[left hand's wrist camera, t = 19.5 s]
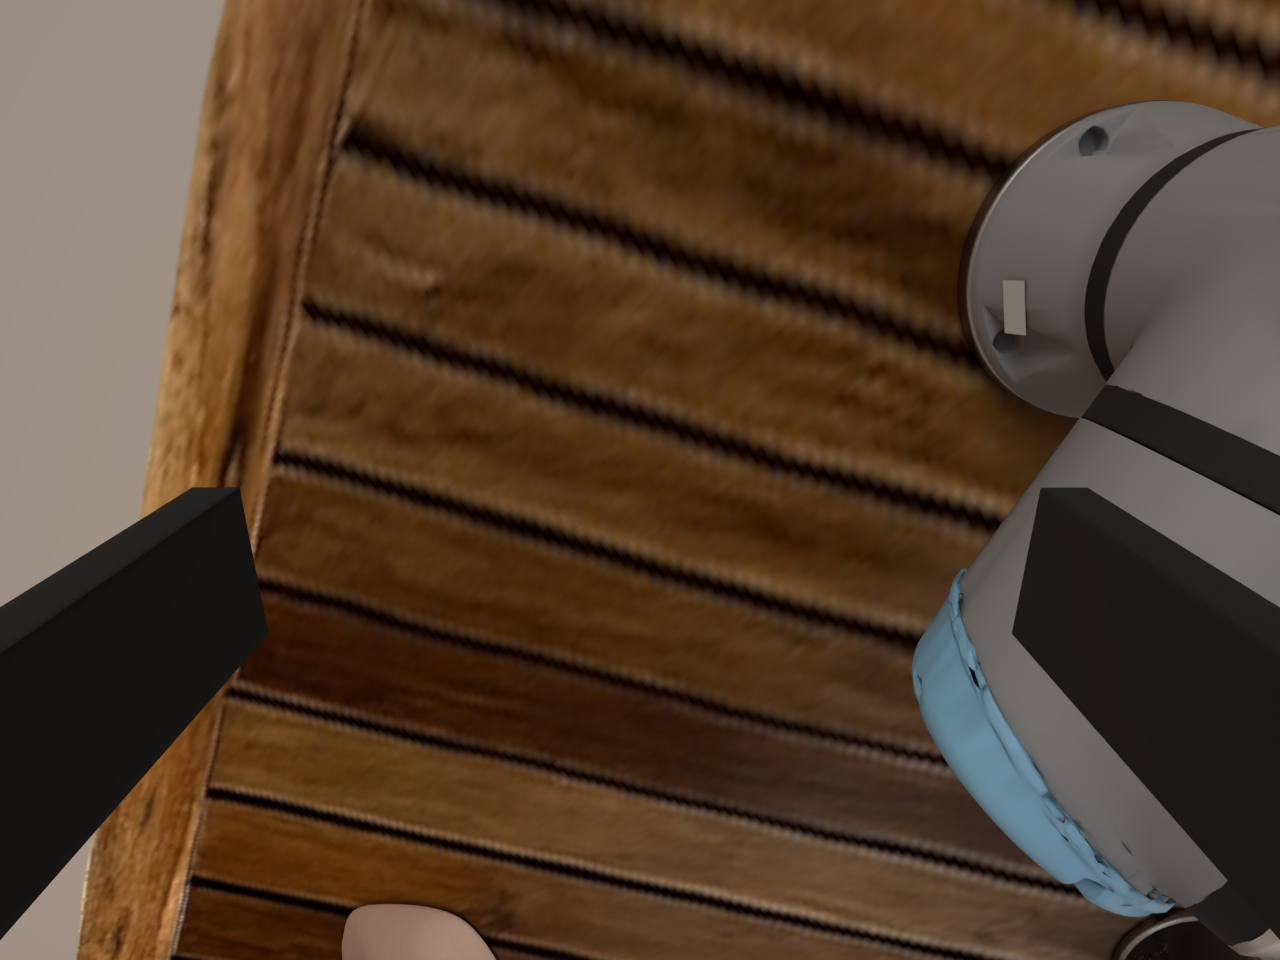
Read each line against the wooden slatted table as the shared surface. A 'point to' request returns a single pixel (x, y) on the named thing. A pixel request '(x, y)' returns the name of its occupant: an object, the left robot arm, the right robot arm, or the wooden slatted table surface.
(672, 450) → the wooden slatted table surface
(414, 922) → the anatomical model
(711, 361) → the wooden slatted table surface
